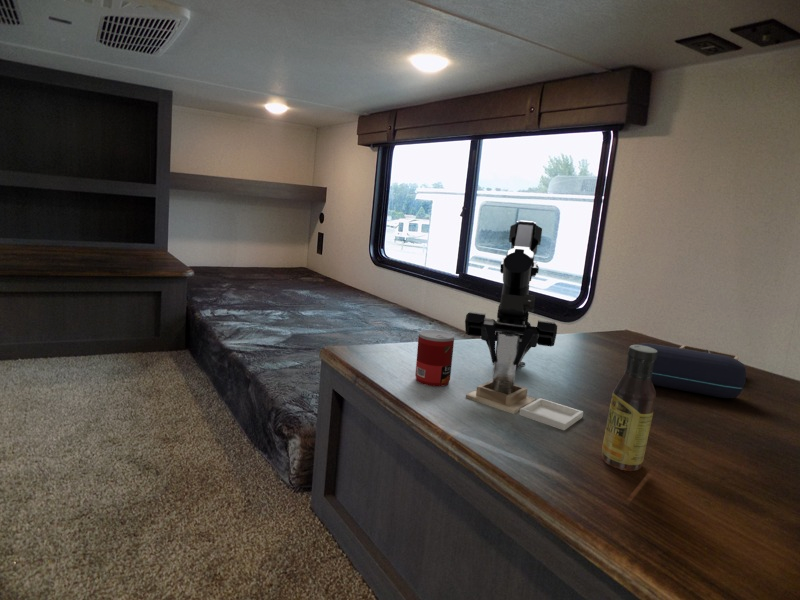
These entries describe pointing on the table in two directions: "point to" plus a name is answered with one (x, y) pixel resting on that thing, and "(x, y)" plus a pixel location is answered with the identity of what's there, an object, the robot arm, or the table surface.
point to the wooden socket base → (501, 397)
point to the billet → (505, 362)
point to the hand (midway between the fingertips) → (505, 363)
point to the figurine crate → (708, 350)
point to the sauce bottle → (631, 411)
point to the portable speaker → (697, 371)
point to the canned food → (434, 357)
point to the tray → (551, 413)
